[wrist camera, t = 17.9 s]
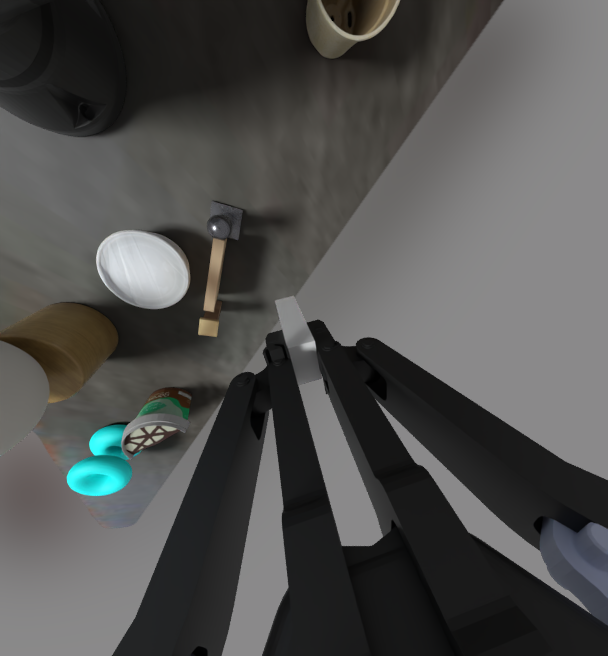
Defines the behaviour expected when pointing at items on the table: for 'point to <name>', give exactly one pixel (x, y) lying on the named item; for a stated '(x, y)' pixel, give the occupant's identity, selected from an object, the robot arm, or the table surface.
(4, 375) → the lamp
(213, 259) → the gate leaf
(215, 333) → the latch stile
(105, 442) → the donuts
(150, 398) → the food container
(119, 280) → the ramekin
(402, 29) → the table surface
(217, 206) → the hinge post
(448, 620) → the robot arm
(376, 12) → the flower pot
